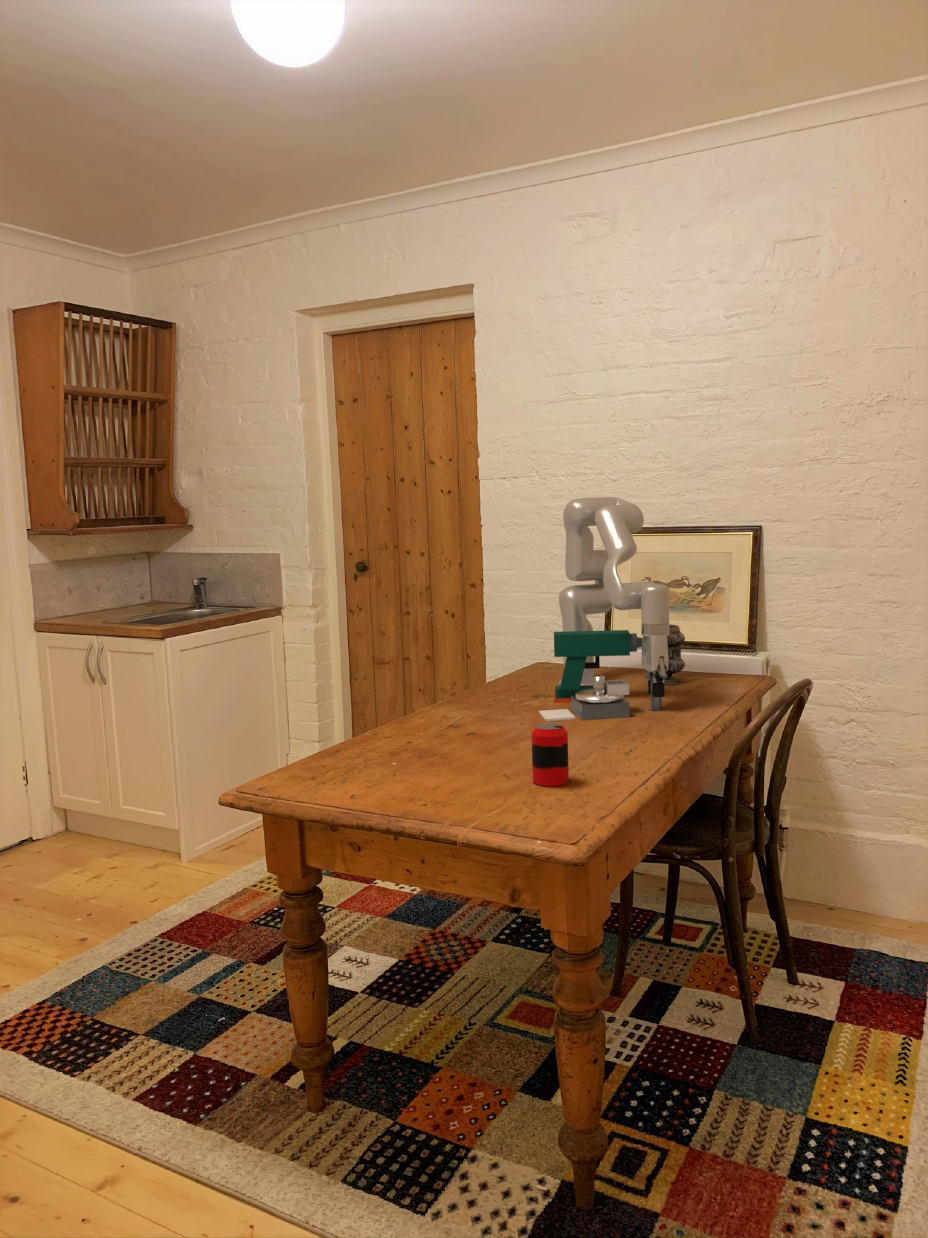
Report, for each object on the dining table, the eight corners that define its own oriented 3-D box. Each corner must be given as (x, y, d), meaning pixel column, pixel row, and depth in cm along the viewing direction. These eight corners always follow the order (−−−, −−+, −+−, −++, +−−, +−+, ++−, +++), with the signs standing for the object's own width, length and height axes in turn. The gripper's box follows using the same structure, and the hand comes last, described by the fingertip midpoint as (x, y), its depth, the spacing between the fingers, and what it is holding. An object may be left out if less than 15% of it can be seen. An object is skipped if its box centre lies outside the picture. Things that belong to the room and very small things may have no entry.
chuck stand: (571, 709, 268) (570, 695, 267) (616, 707, 269) (616, 693, 269) (582, 720, 255) (581, 705, 254) (629, 717, 256) (629, 702, 256)
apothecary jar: (688, 685, 296) (688, 627, 294) (649, 686, 296) (649, 629, 294) (680, 677, 308) (680, 622, 306) (643, 679, 308) (642, 623, 306)
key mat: (539, 713, 265) (538, 710, 265) (567, 711, 266) (567, 709, 266) (546, 721, 255) (546, 718, 255) (575, 719, 256) (575, 717, 256)
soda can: (563, 788, 196) (562, 731, 195) (528, 785, 199) (526, 729, 197) (572, 778, 203) (571, 723, 202) (538, 775, 206) (536, 721, 204)
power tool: (662, 696, 281) (661, 629, 279) (664, 701, 275) (664, 632, 272) (553, 697, 285) (552, 631, 282) (553, 702, 278) (551, 634, 275)
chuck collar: (570, 694, 267) (570, 673, 267) (619, 691, 269) (619, 670, 268) (581, 704, 254) (581, 681, 254) (632, 700, 256) (632, 678, 255)
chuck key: (644, 709, 265) (643, 674, 264) (665, 708, 266) (664, 672, 264) (647, 711, 262) (646, 675, 261) (668, 710, 263) (668, 674, 261)
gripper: (633, 626, 269) (634, 690, 271) (651, 634, 253) (652, 702, 255) (659, 625, 270) (659, 689, 272) (678, 632, 253) (679, 700, 256)
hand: (656, 694), depth 263 cm, fingers closed on chuck key, 3 cm apart
